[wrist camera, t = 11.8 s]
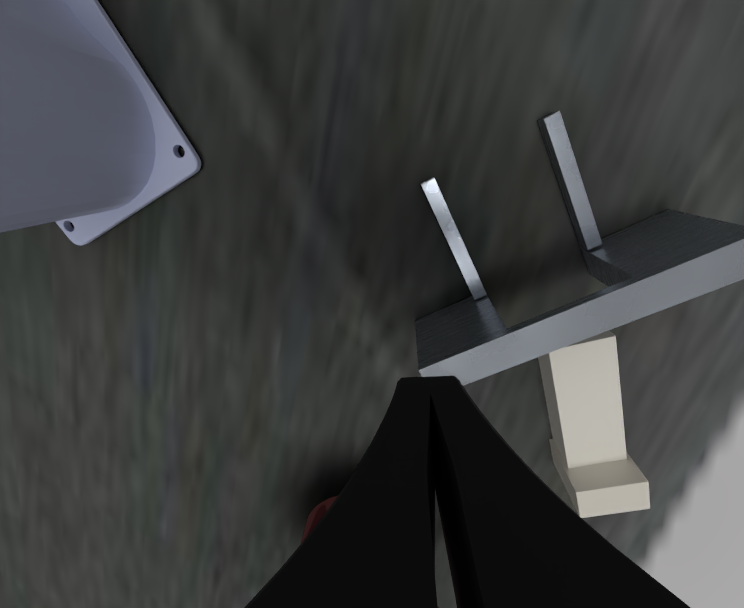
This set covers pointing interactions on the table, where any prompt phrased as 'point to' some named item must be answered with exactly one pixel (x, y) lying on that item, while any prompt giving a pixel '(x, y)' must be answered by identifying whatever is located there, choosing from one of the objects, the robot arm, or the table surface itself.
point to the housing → (604, 262)
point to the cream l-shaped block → (591, 428)
